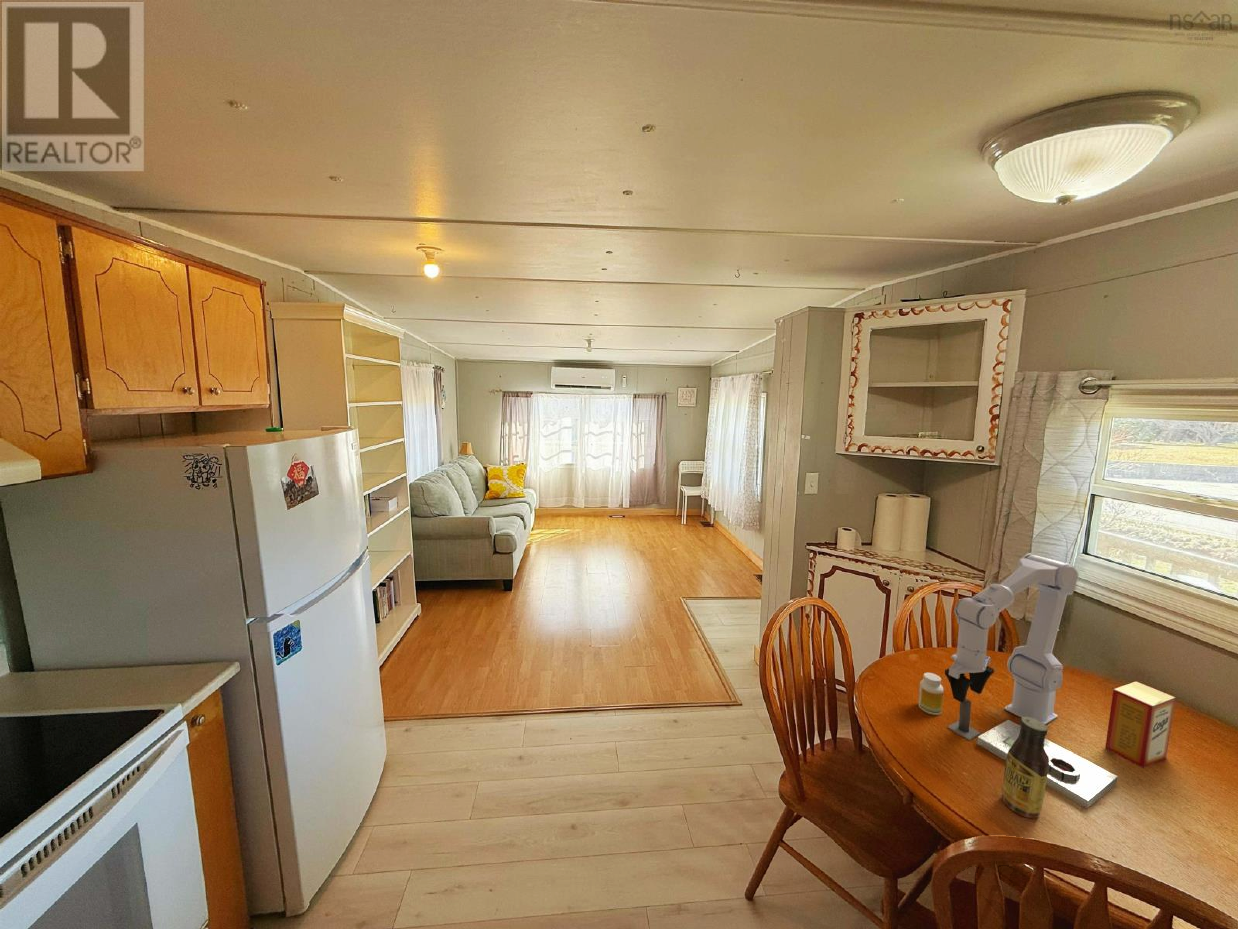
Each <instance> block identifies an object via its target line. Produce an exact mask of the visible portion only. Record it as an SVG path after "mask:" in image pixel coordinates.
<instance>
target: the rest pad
mask: <svg viewBox="0 0 1238 929" xmlns="http://www.w3.org/2000/svg"><path fill="white" fill-rule="evenodd" d="M958 725H959V720H957V721H956V722H955V721H954V722H953V723H952V724H950V725H947V729H949V730H951V731H952V732H954V733H955V734H957V735H959V736H961V737H963V738H964V739H966V740H967V741H971V740H973V739H975V738H978V736H980V735H982V734H981V732H979V731H978V730H976V729H974V728H973V727H971V726H969V732H963V731H961V730H959V728H958Z"/></svg>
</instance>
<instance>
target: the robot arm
mask: <svg viewBox="0 0 1238 929" xmlns="http://www.w3.org/2000/svg"><path fill="white" fill-rule="evenodd" d="M1016 568H1017V569H1016V570H1015V571H1013V572H1012V573H1011V574H1010V575H1008V577H1006V578H1005V579H1004V580H1003V581H1002V582H1000V584H999V583H991V584H989V585H988V586H986V587H985V588H983V589H982V590H981V591H979V592H978V593H977V594H974V595H973V596H972V597H964V598H961V599H959V600H958V601H957V603H956V605H955V607H954V611H953V612H954V614H955V617H956V623H957V625H958V637H957V647H956V653H954V654H952V655H951V659H952V660H954V661H953V663H952V665H951V666H949V667H948V668H946V669H944V674H945V676H946V678H947V680H948V683H949V684H950V689H951V692H952V697H953V699H954V700H956V701H957V702H961V703H963V702H964V701H965V699H967V693H968V690H969V689H970V690H971V691H972V692H975V693H976V694H978V695H980V694H982V693H983V690H984V688H985V686H986V683H987V682H988V680H989V679H990V677H991V676H992V675H993V674H994V673H995V669H994V668H993V667H991V666H989V665H991V657H990V656H988V655H987V648H988V639H989V638H988V637H989V629H990V628H991V627H993V626H994V624H995V623H996V620H997V619H998V618H999V616H1000V613H1001V612H1002V611H1004V610H1005V609H1007V608H1008V607H1010V605H1012V604H1013V603H1014V602H1015V595H1017V594H1019V593H1021V592H1022V591H1025V590H1026V589H1028V588H1030V587H1032V586H1034V585H1035V586H1036V588H1037V589H1038V590H1039V592H1038V593H1039V594H1038V599H1037V601H1036V605H1035V609H1034V613H1033V617H1032V621H1031V624H1030V628H1029V632H1028V635H1027V636H1028V637H1027V640H1026V644H1025V645H1019V646H1016V647H1014V648H1013V651H1012V652H1011V655H1010V656H1009V657H1008V659H1007V663H1006V664H1007V665H1006V666H1007V670H1008V672H1009V673H1011V678H1012V679H1014V684H1013V693H1012V701H1011V703H1010V704H1008V705H1006V706H1004V710H1005V711H1007V712H1008V713H1009V712H1010V713H1011V714H1013V715H1015V716H1017V717H1019V718H1020V719H1021V718H1022V717H1031V718H1034V719H1037V720H1039V721H1040V722H1042V723H1044V724H1045V725H1047V724H1049V723H1050V722H1051V721H1053V720H1055V719H1056V718H1058V717H1059V715H1058V714H1056V713H1054V709H1055V703H1056V702H1055V701H1056V691H1058V690H1059V689H1060V688H1061V687H1062V684H1063V681H1064V680H1063V679H1064V678H1063V677H1064V676H1063V669H1064V666H1063V664H1062V663H1061V662H1060V661H1059V659H1058V658H1056V657H1055V655H1054V654H1053V650H1054V647H1055V642H1056V639H1057V636H1058V631H1059V628H1060V623H1061V621H1062V616H1063V613H1064V609H1065V605H1066V601H1067V597H1068V596H1072V595H1074V591H1075V588H1076V586H1077V581H1078V578H1079V572H1078V571H1077V569H1076V567H1075V566H1074V565H1073V564H1072V563H1066V562H1062V561H1058V560H1054V559H1051V558H1047V557H1043V556H1039V555H1036V554H1034V553H1031V552H1030V553H1026V554H1024V555H1023V556H1022V557H1021V558H1019V559H1018V563H1017V567H1016ZM965 674H968V676H969V678H967V676H966V675H965Z"/></svg>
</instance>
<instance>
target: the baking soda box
mask: <svg viewBox="0 0 1238 929" xmlns="http://www.w3.org/2000/svg"><path fill="white" fill-rule="evenodd" d="M1176 698H1177V697H1176V696H1173V695H1171V694H1169V693H1165V692H1164V691H1161V690H1159V689H1156V688H1154V687H1151V686H1149V685H1146V684H1144V683H1142V682H1140V681H1133V682H1130V683H1128V684H1127V683H1126V684H1125V685H1121V686H1119V687H1117V688H1116V687H1115V688H1114V689H1113V690H1112V697H1111V706H1110V711H1109V720H1108V726H1107V734H1106V740H1105V749H1107V750H1108V751H1110V752H1111V753H1114V754H1116V755H1118V756H1119V757H1122V758H1123V759H1125V760H1126V761H1128V762H1130V763H1133V764H1134V765H1136V766H1138V767H1141V769H1144V768H1147V767H1149V766H1151V765H1153V764H1155V763H1158V762H1160V761H1162V760H1164V759H1167V756H1168V748H1169V742H1170V737H1171V729H1172V725H1173V724H1172V723H1173V717H1174V711H1175V705H1176Z"/></svg>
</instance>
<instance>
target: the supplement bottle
mask: <svg viewBox="0 0 1238 929" xmlns="http://www.w3.org/2000/svg"><path fill="white" fill-rule="evenodd" d="M922 678H923V679H922V680H920V681H919V690H918V702H917V703H918V707H919V709H920V710H922V712H925V713H926V714H930V715H933V716H938V715H941V714H942V712H943V701H944V700H943V699H944V687H943V685H942V678H941V677H940V676H939V675H937V674H935V673H933V672H925V673H923V677H922Z"/></svg>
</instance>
